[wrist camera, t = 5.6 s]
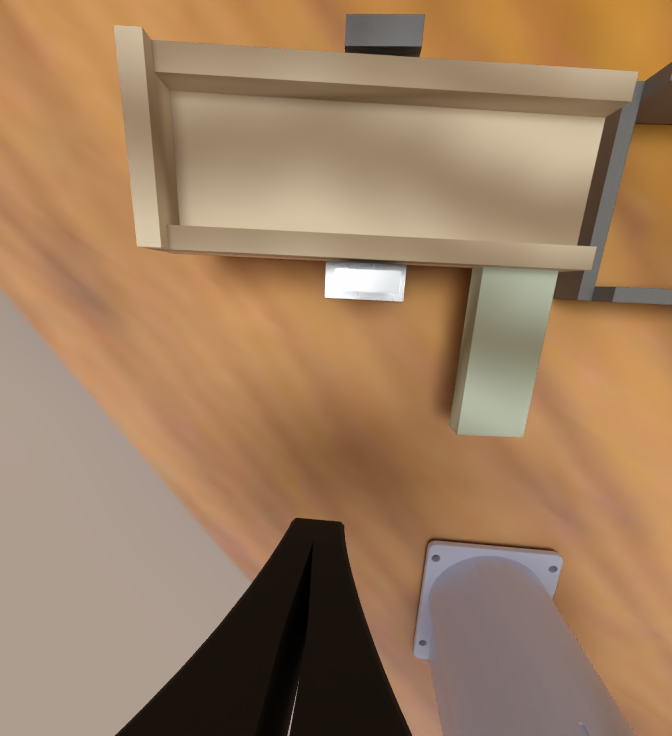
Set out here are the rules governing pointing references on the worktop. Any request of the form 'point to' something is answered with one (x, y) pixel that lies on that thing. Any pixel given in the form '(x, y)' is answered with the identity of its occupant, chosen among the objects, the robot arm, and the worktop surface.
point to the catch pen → (648, 106)
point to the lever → (377, 178)
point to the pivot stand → (378, 39)
